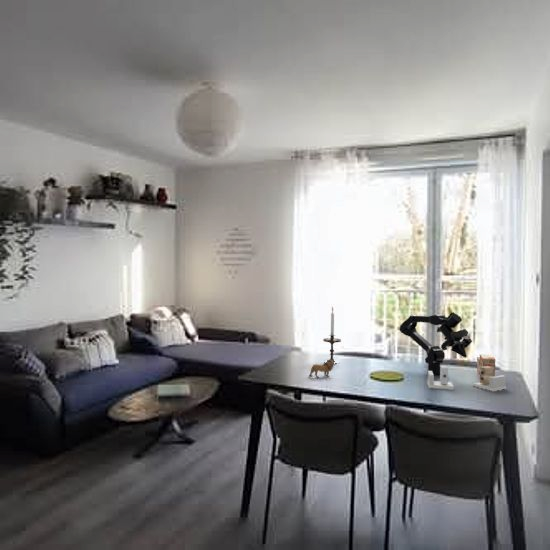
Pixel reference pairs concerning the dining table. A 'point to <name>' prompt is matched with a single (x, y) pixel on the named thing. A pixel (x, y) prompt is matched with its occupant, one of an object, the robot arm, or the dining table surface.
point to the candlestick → (332, 336)
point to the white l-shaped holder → (493, 383)
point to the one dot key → (443, 374)
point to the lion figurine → (322, 368)
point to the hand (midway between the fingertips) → (465, 356)
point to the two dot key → (485, 374)
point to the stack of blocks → (485, 362)
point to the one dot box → (437, 383)
